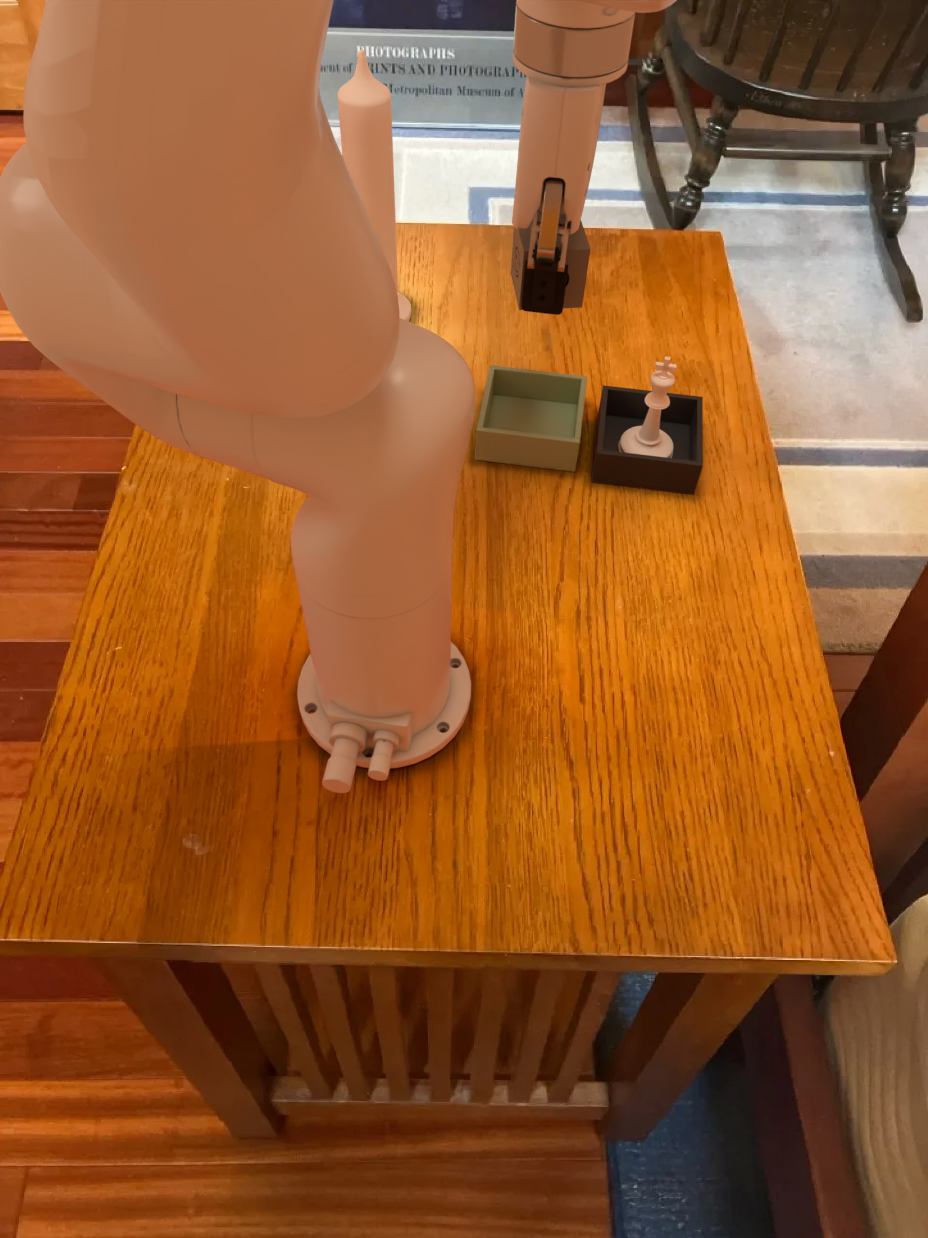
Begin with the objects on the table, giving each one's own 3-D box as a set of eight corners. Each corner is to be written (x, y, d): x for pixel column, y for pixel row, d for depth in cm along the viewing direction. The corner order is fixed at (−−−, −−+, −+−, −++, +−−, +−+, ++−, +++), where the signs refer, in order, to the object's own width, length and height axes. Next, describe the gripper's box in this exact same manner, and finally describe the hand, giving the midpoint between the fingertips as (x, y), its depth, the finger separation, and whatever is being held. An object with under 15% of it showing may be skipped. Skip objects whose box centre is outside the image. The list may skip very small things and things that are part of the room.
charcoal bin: (693, 494, 81) (703, 465, 78) (591, 482, 82) (596, 452, 79) (694, 426, 87) (702, 396, 84) (597, 414, 87) (603, 384, 84)
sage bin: (575, 472, 83) (579, 442, 80) (474, 459, 83) (476, 430, 80) (582, 405, 88) (587, 375, 85) (488, 394, 89) (490, 364, 86)
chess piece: (670, 472, 82) (696, 381, 74) (615, 463, 83) (634, 372, 75) (674, 435, 85) (699, 344, 77) (621, 426, 86) (640, 335, 78)
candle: (409, 336, 94) (402, 70, 74) (339, 333, 94) (312, 67, 74) (413, 294, 98) (407, 32, 78) (346, 292, 98) (322, 29, 78)
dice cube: (510, 273, 76) (514, 214, 72) (571, 270, 76) (578, 212, 72) (519, 309, 73) (523, 251, 69) (582, 307, 73) (590, 249, 69)
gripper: (528, -20, 65) (511, 223, 79) (497, 92, 55) (484, 347, 69) (636, -11, 64) (599, 232, 79) (624, 104, 54) (585, 359, 69)
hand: (546, 284), depth 74 cm, fingers closed on dice cube, 5 cm apart
